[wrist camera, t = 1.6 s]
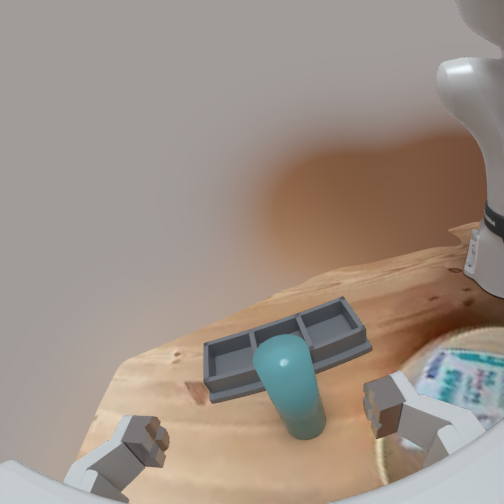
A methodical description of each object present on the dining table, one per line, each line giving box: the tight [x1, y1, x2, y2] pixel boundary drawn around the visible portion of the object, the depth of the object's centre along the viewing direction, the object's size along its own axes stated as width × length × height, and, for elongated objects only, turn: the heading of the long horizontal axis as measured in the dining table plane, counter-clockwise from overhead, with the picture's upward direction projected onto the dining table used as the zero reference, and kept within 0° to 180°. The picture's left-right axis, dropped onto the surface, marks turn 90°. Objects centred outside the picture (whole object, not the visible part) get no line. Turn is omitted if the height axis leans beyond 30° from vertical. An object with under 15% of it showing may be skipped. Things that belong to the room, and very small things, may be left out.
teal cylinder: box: [253, 334, 326, 440], centre depth 26 cm, size 5×5×15 cm
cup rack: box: [204, 296, 372, 404], centre depth 40 cm, size 25×11×4 cm, turn 99°
